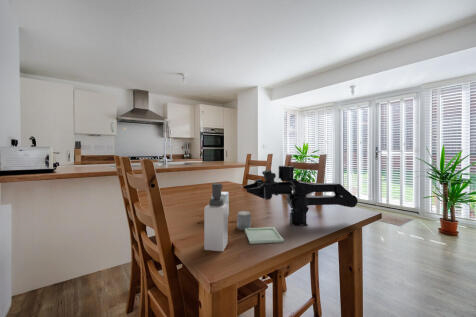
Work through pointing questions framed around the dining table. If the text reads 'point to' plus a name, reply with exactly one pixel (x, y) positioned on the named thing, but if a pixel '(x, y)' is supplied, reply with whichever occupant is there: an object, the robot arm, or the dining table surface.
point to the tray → (263, 235)
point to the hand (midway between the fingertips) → (244, 188)
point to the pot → (243, 220)
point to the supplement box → (224, 198)
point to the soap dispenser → (216, 221)
